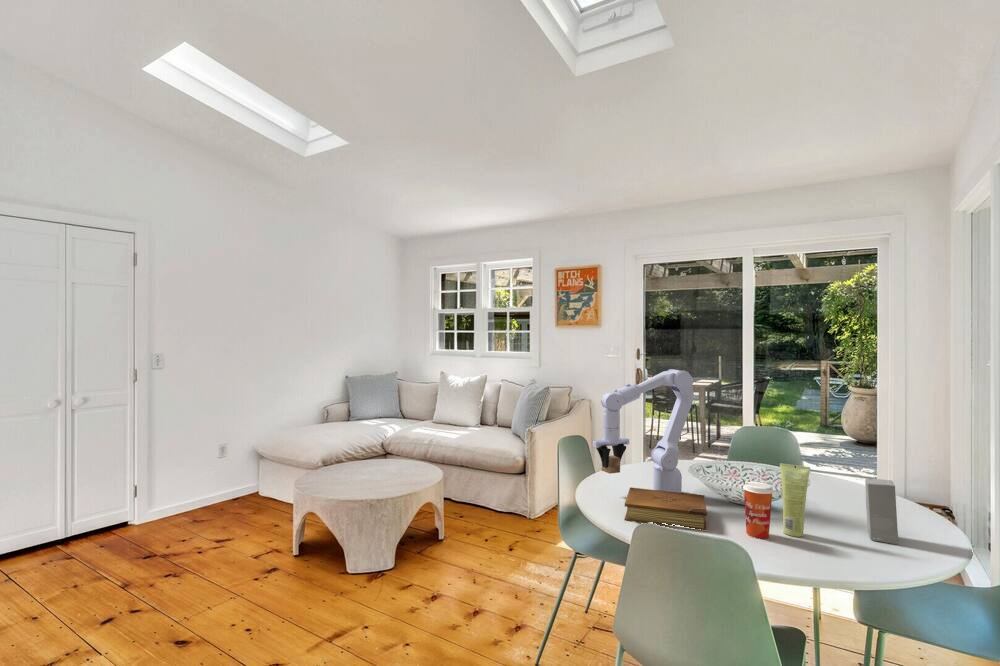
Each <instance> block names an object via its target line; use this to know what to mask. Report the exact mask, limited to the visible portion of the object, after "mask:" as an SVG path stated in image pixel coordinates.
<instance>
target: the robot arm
mask: <svg viewBox="0 0 1000 666" xmlns="http://www.w3.org/2000/svg"><path fill="white" fill-rule="evenodd" d="M693 384H694V379H693V376H692V375H691V374H690V373H689V372H688V371H687V370H678V369H674V368H671V369H668V370H664V371H662V372H660V373H658V374H656V375H654V376H652V377H650V378H648V379H646V380H644V381H642V382H640V383H638V384H635V383H625V384H624V385H625V386H623V387H621V388H618V389H613V390H612V392H607V393H605V394H604V395H603V396H602V398H601V401H600V403H601V406H602V407H603V414H602V418H603V419H602V421H603V422H602V424H603V425H602V430H603V431H602V438H601V439H598V440H593V441H592V448H596V451H597V452H598V454H599V458H600V461H601V467H602V466H603V467H605V468H608V460H609V456H610V455H611V451H612V452H613V453H612V454H613V456H616V457H619V458H620V463H621V461H622V459H623V456H624V454H625V451H626V450H627V445H628V446H629V445H630V439H629V438H627V437H620V436H621V425H620V424H621V414H620V413H621V412H620V411H621V409H622V407H623V406H626V405H627V404H630V403H632V402H634V401H636V400H638V399H640V398H641V395H642V394H644V393H645V392H648V391H650V390H654V389H655V388H658V387H661V386H667V387H669V388H670V389H671V390H672V391H673V393H674V395H675V397H676V399H675V402H674V405H673V408H672V410H671V413H670V417H669V420H668V422H667V424H666V427H665V430H664V434H663V436H662V438H661V439H660V440H659V441H658V442H657V443H656V446H655V447H654V448H653V449H652V450H651V452H650V453H651V454H650V459H651V460H652V462H653V463H654V464H653V471H652V472H653V473H652V474H653V476H652V477H653V479H652V480H653V483H652V484H653V487H652V489H651V490H659V491H669V492H678V493H683V492H682V487H683V485H682V482H683V479H682V478H683V477H682V476H683V475H682V472H681V471H680V469H679V468H678V467H677V466H678V464H679V453H680V450H679V446H678V444H679V441H680V438H681V435H682V433H683V431H684V427H685V424H686V421H687V418H688V416H689V413H690V409H691V407H692V405H693V401H694V399H695V394H694V386H693ZM608 447H612V450H611V448H608Z"/></svg>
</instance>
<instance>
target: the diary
mask: <svg viewBox="0 0 1000 666" xmlns="http://www.w3.org/2000/svg"><path fill="white" fill-rule="evenodd" d="M624 507H626V508H627V509H626V512H625V515H624V521H625V520H626V521H625V522H632V521H637V522H636V523H640V522H653V523H656V524H660V525H659V526H663V525H665V524H662V523H666V524H668V525H672V524H675V525H680V526H684V527H689V528H695V529H701V530H700V531H702V530H707V531H708V529H707V521H706V517H707V516H708V512H707V505H706V499H705V495H703V494H696V493H686V492H682V493H678V492H669V491H659V490H652V489H650V488H649V489H647V488H639V487H629V489H628V493H627V496H626V497H625V501H624ZM656 524H655V525H656ZM675 525H673V526H675ZM664 527H668V526H667V525H665V526H664ZM695 529H694V530H695Z"/></svg>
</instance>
